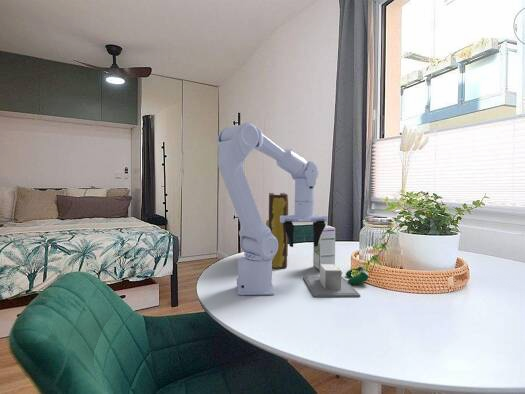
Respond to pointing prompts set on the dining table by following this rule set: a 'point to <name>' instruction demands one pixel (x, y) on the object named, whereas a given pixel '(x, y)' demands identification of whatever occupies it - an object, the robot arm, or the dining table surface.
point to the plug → (330, 277)
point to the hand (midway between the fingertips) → (303, 245)
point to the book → (278, 228)
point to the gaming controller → (358, 276)
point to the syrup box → (325, 248)
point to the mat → (320, 291)
